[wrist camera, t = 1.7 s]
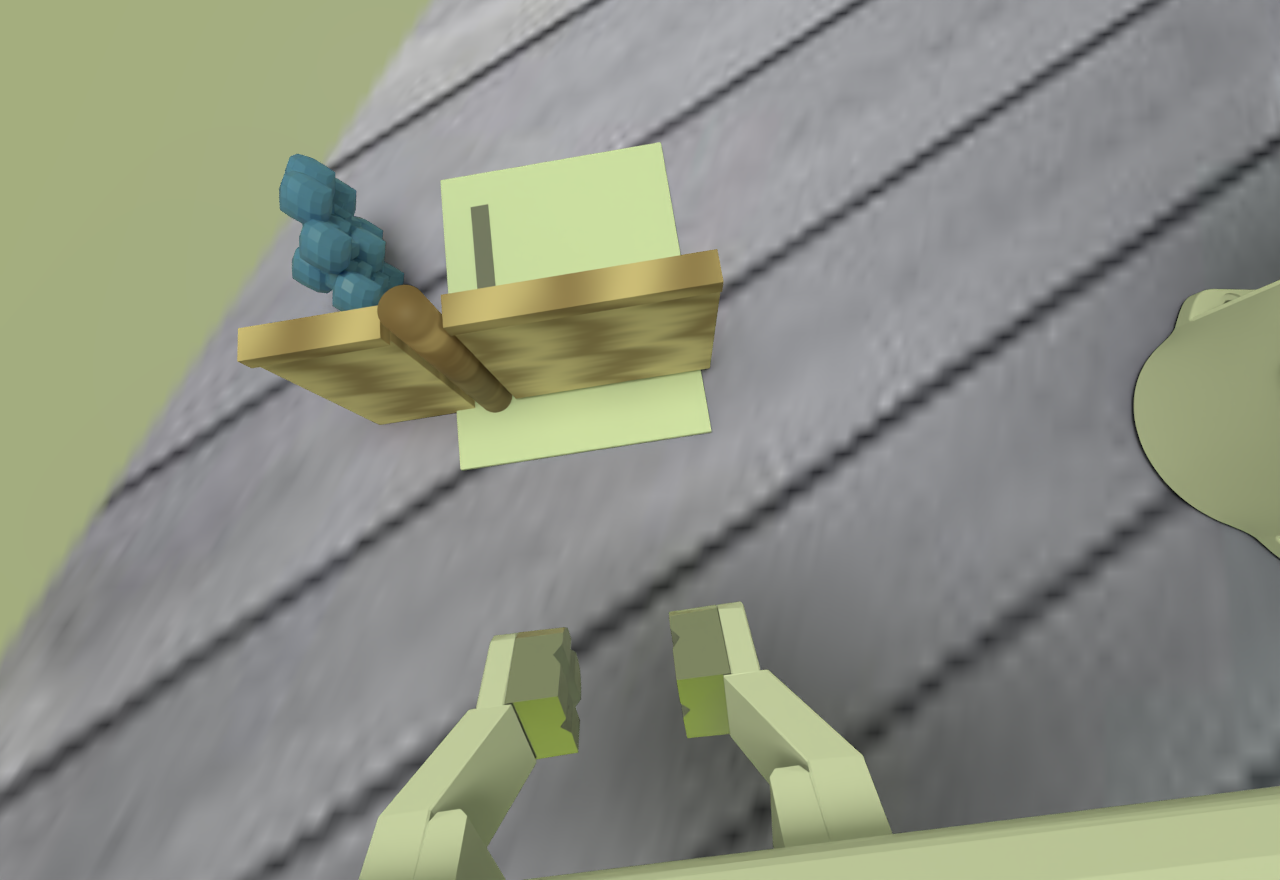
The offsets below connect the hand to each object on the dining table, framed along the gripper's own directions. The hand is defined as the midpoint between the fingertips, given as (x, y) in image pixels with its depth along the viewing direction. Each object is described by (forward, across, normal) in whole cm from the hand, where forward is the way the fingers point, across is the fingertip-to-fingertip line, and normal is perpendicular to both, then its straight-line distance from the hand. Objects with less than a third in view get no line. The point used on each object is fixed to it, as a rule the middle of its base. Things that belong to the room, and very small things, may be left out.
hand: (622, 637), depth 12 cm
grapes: (+37, +18, +2) cm, 41 cm away
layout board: (+35, +4, +4) cm, 36 cm away
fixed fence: (+30, +14, +9) cm, 34 cm away
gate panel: (+30, +1, +8) cm, 31 cm away
